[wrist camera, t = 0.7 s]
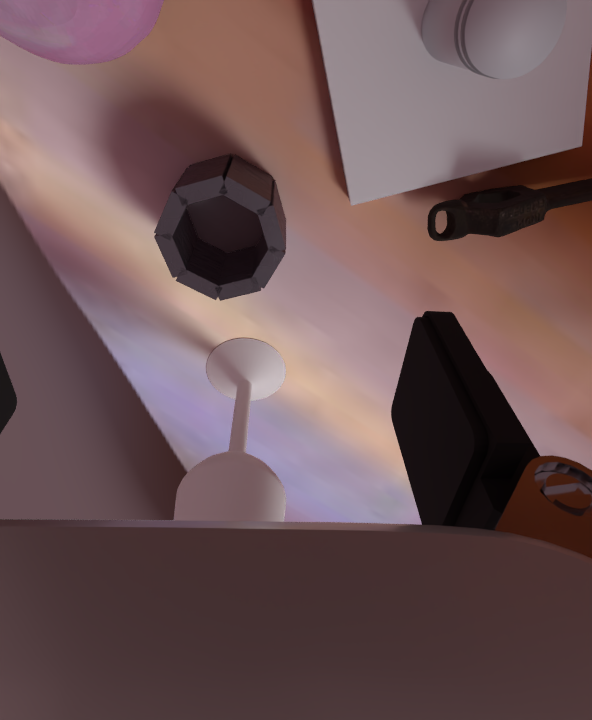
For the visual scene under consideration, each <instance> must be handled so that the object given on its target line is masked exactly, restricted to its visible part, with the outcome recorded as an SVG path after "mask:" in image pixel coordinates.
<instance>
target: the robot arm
mask: <svg viewBox="0 0 592 720" xmlns="http://www.w3.org/2000/svg"><path fill="white" fill-rule="evenodd" d="M16 405H17V397H16V394H15V391H14V388H13V386H12V383H11V380H10V378H9V375H8V372H7V370H6V367H5V364H4V361H3V359H2V356H1V353H0V433H1V432H2V430H3V429H4V427H5V426H6V424H7V422H8V421H9V419H10V418H11V416H12V415H13V413H14V411H15V409H16ZM391 416H392V422H393V426H394V429H395V433H396V436H397V440H398V443H399V446H400V450H401V453H402V457H403V460H404V464H405V467H406V471H407V474H408V477H409V481H410V484H411V488H412V491H413V495H414V498H415V502H416V505H417V508H418V512H419V515H420V519H421V522H422V525H414V524H380V523H341V522H266V521H180V520H173V521H172V520H171V521H170V520H52V519H48V520H47V519H42V520H41V519H0V720H592V470H590V469H588V468H587V467H585V466H583V465H582V464H580V463H578V462H575V461H572V460H570V459H567V458H563V457H558V456H540V455H539V453H538V452H537V450H536V448H535V447H534V445H533V443H532V442H531V440H530V438H529V437H528V435H527V433H526V432H525V430H524V428H523V427H522V425H521V423H520V421H519V420H518V418H517V416H516V415H515V413H514V411H513V410H512V408H511V406H510V405H509V403H508V401H507V400H506V398H505V396H504V395H503V393H502V391H501V390H500V388H499V386H498V385H497V383H496V381H495V380H494V378H493V376H492V375H491V374H490V373H489V372H488V371H487V369H486V368H485V366H484V364H483V363H482V361H481V359H480V358H479V356H478V354H477V353H476V351H475V349H474V348H473V346H472V344H471V342H470V341H469V339H468V337H467V336H466V334H465V332H464V331H463V329H462V327H461V326H460V324H459V322H458V321H457V319H456V317H455V316H454V314H453V313H452V312H436V311H426V312H425V313H424V314H423V316H422V317H417V318H416V319H415V320H414V323H413V327H412V331H411V335H410V338H409V342H408V346H407V350H406V354H405V358H404V361H403V365H402V369H401V373H400V377H399V381H398V385H397V388H396V392H395V396H394V400H393V404H392V410H391Z"/></svg>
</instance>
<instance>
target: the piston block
mask: <svg viewBox="0 0 592 720" xmlns="http://www.w3.org/2000/svg"><path fill="white" fill-rule="evenodd" d="M312 5H313V11H314V16H315V21H316V26H317V32H318V37H319V42H320V48H321V53H322V58H323V64H324V69H325V74H326V80H327V85H328V90H329V96H330V101H331V106H332V112H333V117H334V122H335V128H336V133H337V138H338V144H339V149H340V154H341V160H342V165H343V170H344V176H345V181H346V186H347V192H348V197H349V201H350V203H351V206H352V205H356V204H360V203H364V202H367V201H371V200H375V199H379V198H383V197H387V196H391V195H395V194H399V193H402V192H406V191H410V190H414V189H418V188H422V187H426V186H430V185H433V184H437V183H441V182H445V181H449V180H453V179H457V178H461V177H464V176H468V175H472V174H476V173H480V172H484V171H488V170H492V169H496V168H499V167H503V166H507V165H511V164H515V163H519V162H523V161H527V160H530V159H534V158H538V157H542V156H546V155H550V154H554V153H558V152H562V151H565V150H569V149H573V148H577V147H581V146H582V141H583V130H584V120H585V110H586V100H587V90H588V79H589V69H590V59H591V49H592V0H312Z"/></svg>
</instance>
